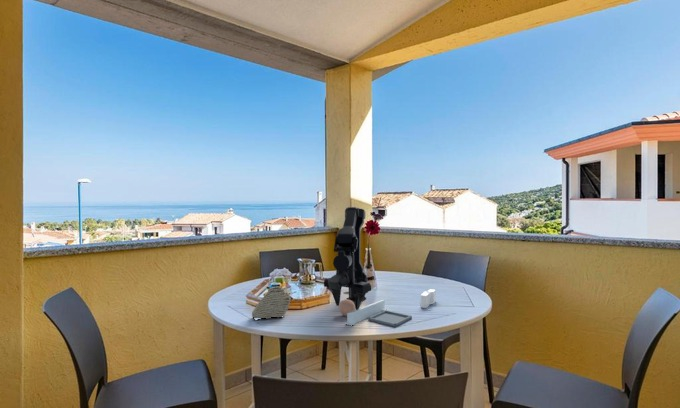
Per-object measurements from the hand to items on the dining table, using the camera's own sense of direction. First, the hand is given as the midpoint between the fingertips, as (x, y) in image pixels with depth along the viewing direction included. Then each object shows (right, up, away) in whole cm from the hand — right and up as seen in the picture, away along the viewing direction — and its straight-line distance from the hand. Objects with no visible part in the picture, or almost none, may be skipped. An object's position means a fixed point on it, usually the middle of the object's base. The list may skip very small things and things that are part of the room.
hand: (347, 307), depth 132 cm
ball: (0, 0, 0) cm, 0 cm away
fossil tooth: (-28, -4, 0) cm, 28 cm away
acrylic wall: (+7, -3, -2) cm, 8 cm away
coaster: (+15, -3, -5) cm, 16 cm away
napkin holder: (+34, -3, +14) cm, 37 cm away
